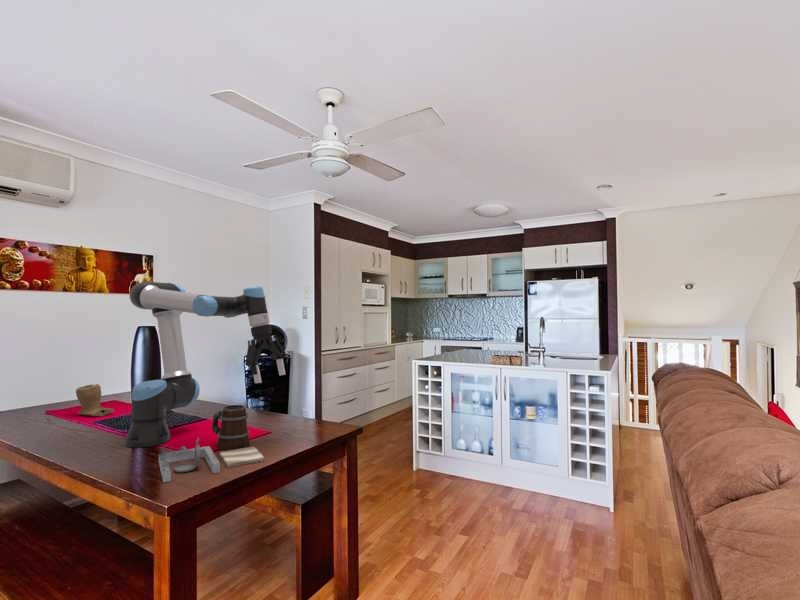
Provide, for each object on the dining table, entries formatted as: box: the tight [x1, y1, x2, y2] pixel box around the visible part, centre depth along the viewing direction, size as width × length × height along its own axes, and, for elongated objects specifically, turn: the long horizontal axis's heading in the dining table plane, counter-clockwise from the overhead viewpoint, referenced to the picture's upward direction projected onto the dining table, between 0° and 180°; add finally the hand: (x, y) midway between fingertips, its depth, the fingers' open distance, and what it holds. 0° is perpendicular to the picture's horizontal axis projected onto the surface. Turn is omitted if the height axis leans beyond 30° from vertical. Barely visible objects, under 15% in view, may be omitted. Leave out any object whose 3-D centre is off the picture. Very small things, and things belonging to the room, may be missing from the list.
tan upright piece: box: [75, 383, 115, 417], centre depth 208 cm, size 15×12×15 cm
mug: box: [211, 404, 250, 452], centre depth 164 cm, size 16×12×15 cm
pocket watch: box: [173, 437, 201, 473], centre depth 139 cm, size 8×8×10 cm
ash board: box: [219, 446, 265, 468], centre depth 150 cm, size 14×12×1 cm
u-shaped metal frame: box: [158, 445, 221, 484], centre depth 144 cm, size 26×16×3 cm, turn 33°
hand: (270, 378), depth 166 cm, fingers open, 13 cm apart
